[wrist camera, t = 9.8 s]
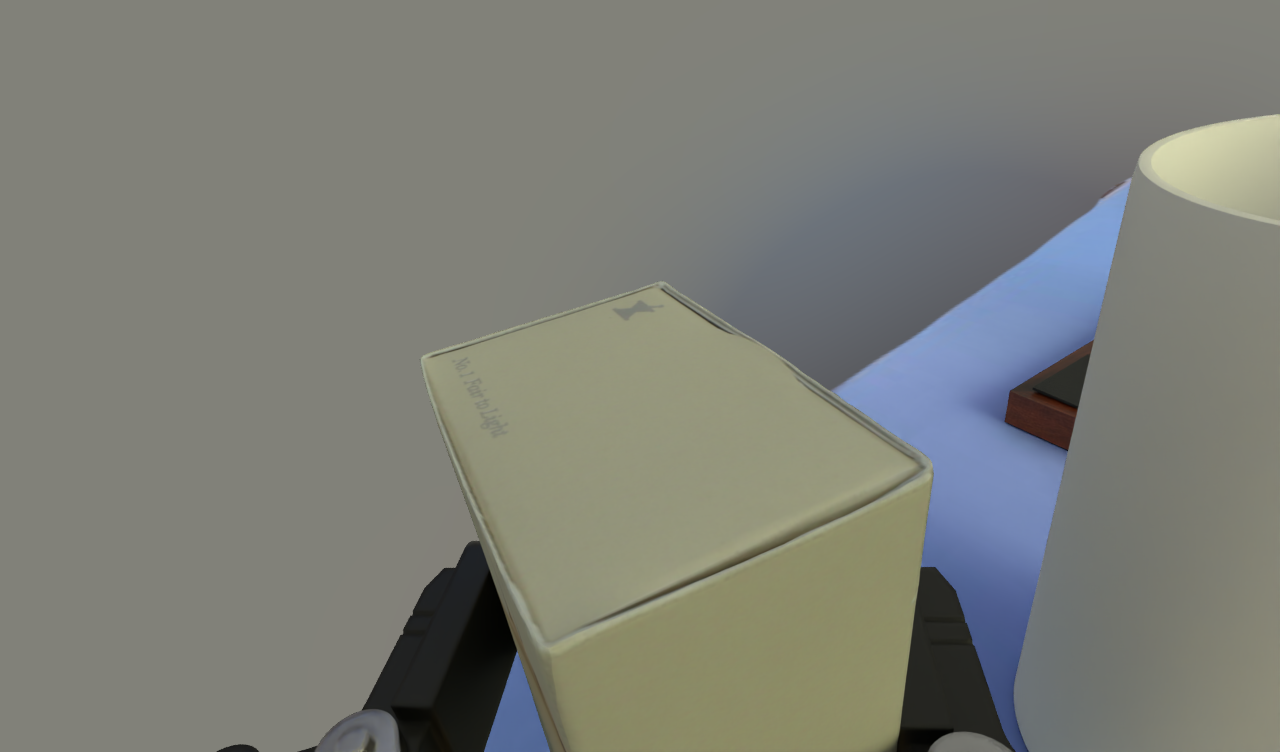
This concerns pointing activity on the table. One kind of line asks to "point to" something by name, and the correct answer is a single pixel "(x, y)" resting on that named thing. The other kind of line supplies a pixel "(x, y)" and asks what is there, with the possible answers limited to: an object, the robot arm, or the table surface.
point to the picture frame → (1051, 399)
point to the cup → (1172, 474)
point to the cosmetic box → (686, 531)
